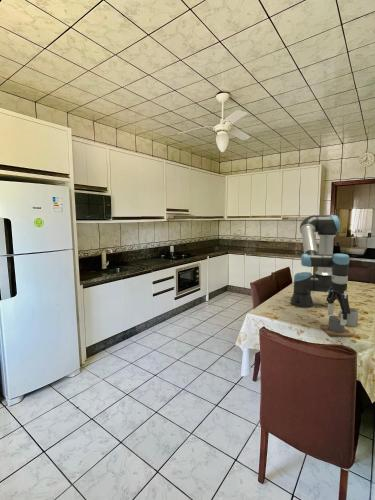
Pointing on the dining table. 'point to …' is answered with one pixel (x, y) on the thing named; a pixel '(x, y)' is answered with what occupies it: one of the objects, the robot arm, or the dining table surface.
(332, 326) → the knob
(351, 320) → the cup
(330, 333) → the shaft block
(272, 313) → the dining table surface
